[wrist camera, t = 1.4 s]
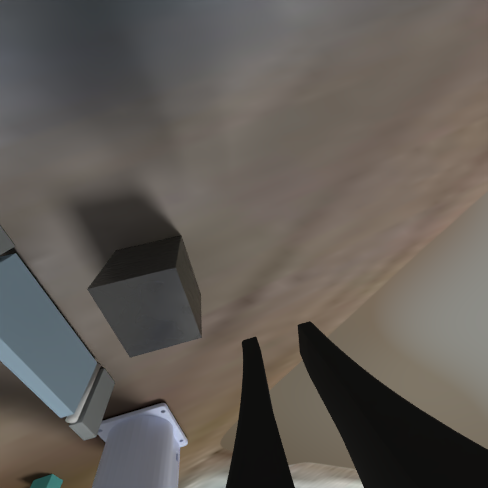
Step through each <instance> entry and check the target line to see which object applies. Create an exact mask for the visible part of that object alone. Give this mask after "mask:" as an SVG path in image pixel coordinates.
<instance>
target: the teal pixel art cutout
mask: <svg viewBox="0 0 488 488" xmlns="http://www.w3.org/2000/svg"><path fill="white" fill-rule="evenodd" d="M62 482H63V480H61V479H59V478H58V477H56V476H55V475H53V474H51V475H48V476H45V477H42V478H39V479H36V480H34V481H33V483H32V485H31V487H30V488H60V487H61V484H62Z"/></svg>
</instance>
